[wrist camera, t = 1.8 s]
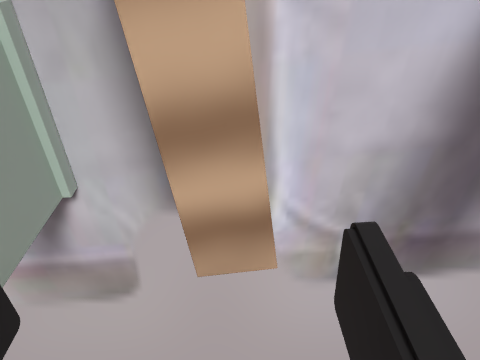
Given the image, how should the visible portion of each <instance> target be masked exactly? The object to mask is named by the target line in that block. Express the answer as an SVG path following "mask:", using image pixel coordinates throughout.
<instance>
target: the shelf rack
mask: <svg viewBox="0 0 480 360" xmlns="http://www.w3.org/2000/svg"><path fill="white" fill-rule="evenodd" d="M77 188H78V187H77V184H76V181H75V178H74V175H73V173H72V170H71V167H70V164H69V162H68V159H67V156H66V153H65V150H64V148H63V145H62V142H61V139H60V136H59V134H58V131H57V128H56V125H55V122H54V120H53V117H52V114H51V111H50V109H49V106H48V103H47V100H46V97H45V95H44V92H43V89H42V86H41V83H40V81H39V78H38V75H37V72H36V69H35V67H34V64H33V61H32V58H31V56H30V53H29V50H28V47H27V44H26V42H25V39H24V36H23V33H22V30H21V28H20V25H19V22H18V19H17V16H16V14H15V11H14V8H13V5H12V3H11V0H0V285H1V287H2V288H3V286H4V285H5V283H6V282H7V280H8V279H9V277H10V276H11V274H12V273H13V271H14V270H15V268H16V267H17V265H18V264H19V262H20V261H21V259H22V258H23V256H24V255H25V253H26V252H27V250H28V249H29V247H30V246H31V244H32V243H33V241H34V240H35V238H36V237H37V235H38V234H39V232H40V231H41V229H42V228H43V226H44V225H45V223H46V222H47V220H48V219H49V217H50V216H51V214H52V213H53V211H54V210H55V208H56V207H57V205H58V204H59V202H60V201H61V199H62V198H66V197H72V195H73V194H74V192H75V191H76V189H77Z"/></svg>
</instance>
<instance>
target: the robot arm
mask: <svg viewBox="0 0 480 360" xmlns="http://www.w3.org/2000/svg"><path fill="white" fill-rule="evenodd" d="M334 304H335V310H336V313H337V317H338V320H339V324H340V327H341V330H342V334H343V337H344V340H345V344H346V347H347V350H348V353H349V357H350V360H466V359H465V357H464V355H463V354H462V352H461V350H460V349H459V347H458V345H457V343H456V342H455V340H454V338H453V337H452V335H451V333H450V331H449V330H448V328H447V326H446V324H445V323H444V321H443V320H442V318H441V316H440V314H439V312H438V311H437V309H436V307H435V306H434V304H433V302H432V300H431V299H430V297H429V295H428V293H427V292H426V290H425V288H424V287H423V285H422V283H421V281H420V280H419V278H418V277H417V276H416V275H415V274H414V273H412V272H404V271H403V270H402V268H401V266H400V264H399V262H398V260H397V259H396V257H395V255H394V253H393V251H392V250H391V248H390V246H389V244H388V242H387V240H386V239H385V237H384V235H383V233H382V231H381V229H380V228H379V226H378V224H377V223H376V222H360V223H352V224H351V227H350V229H345V230H344V233H343V239H342V246H341V253H340V260H339V267H338V275H337V282H336V289H335V296H334ZM19 326H20V317H19V315H18V313H17V312H16V310H15V308H14V307H13V305H12V303H11V302H10V300H9V298H8V297H7V295H6V293H5V292H4V290H3V288H2V287H1V285H0V360H2V359H3V357H4V355H5V354H6V352H7V350H8V348H9V346H10V344H11V343H12V341H13V339H14V337H15V335H16V333H17V332H18V329H19Z"/></svg>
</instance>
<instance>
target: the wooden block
mask: <svg viewBox="0 0 480 360" xmlns="http://www.w3.org/2000/svg"><path fill="white" fill-rule="evenodd" d="M114 1H115V5H116V8H117V11H118V15H119V18H120V21H121V24H122V28H123V31H124V34H125V38H126V41H127V44H128V48H129V51H130V54H131V58H132V61H133V64H134V68H135V71H136V74H137V77H138V81H139V84H140V87H141V91H142V94H143V97H144V101H145V104H146V107H147V111H148V114H149V117H150V120H151V124H152V127H153V130H154V134H155V137H156V140H157V144H158V147H159V150H160V154H161V157H162V160H163V164H164V167H165V170H166V173H167V177H168V180H169V183H170V187H171V190H172V193H173V197H174V200H175V203H176V207H177V210H178V213H179V216H180V220H181V223H182V226H183V230H184V233H185V236H186V240H187V243H188V246H189V249H190V253H191V256H192V260H193V263H194V266H195V269H196V273H197V276H198V277H202V276H211V275H220V274H229V273H238V272H247V271H256V270H265V269H274V268H277V261H276V252H275V244H274V236H273V228H272V220H271V212H270V203H269V195H268V187H267V179H266V171H265V163H264V155H263V146H262V138H261V130H260V122H259V114H258V106H257V97H256V89H255V81H254V73H253V65H252V57H251V49H250V40H249V32H248V24H247V16H246V8H245V0H114Z"/></svg>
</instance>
